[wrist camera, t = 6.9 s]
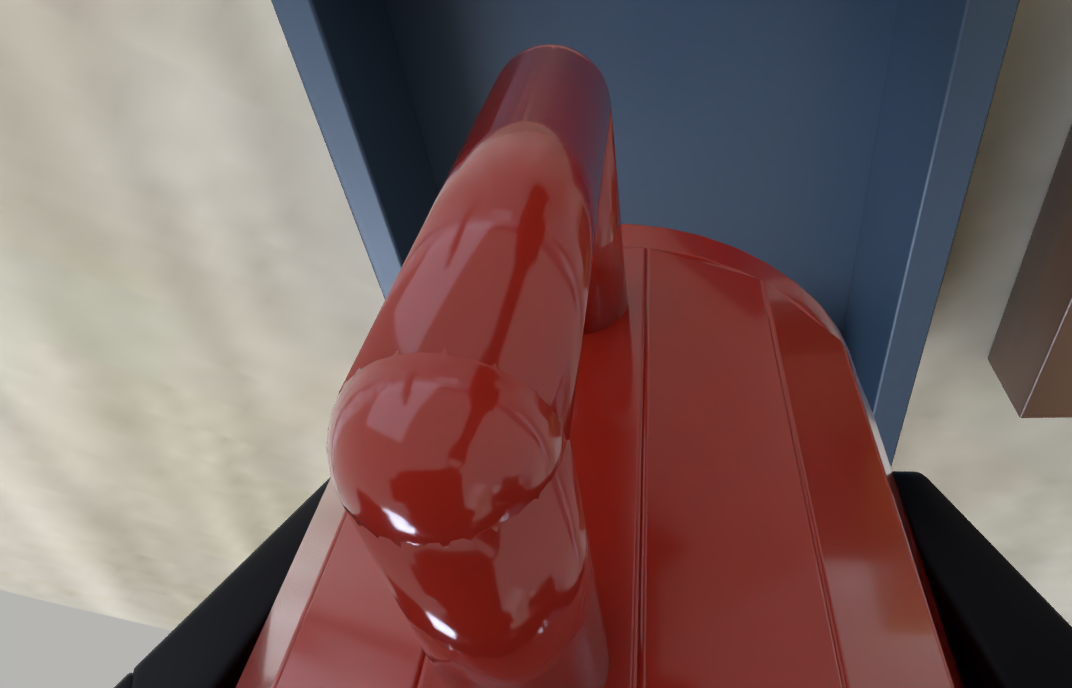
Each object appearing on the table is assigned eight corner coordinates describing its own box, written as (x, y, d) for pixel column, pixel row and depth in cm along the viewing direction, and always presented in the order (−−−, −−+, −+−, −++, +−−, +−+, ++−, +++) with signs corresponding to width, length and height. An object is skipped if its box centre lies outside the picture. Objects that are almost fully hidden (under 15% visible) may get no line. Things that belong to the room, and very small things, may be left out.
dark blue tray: (968, -218, 12) (1079, -209, 9) (855, 368, 21) (889, 476, 18) (335, -100, 15) (246, -60, 12) (477, 378, 24) (450, 473, 21)
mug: (825, 550, 12) (947, 1118, 7) (452, 539, 13) (331, 1005, 8) (955, -63, 6) (2644, 943, 1) (245, 37, 7) (-642, 636, 2)
